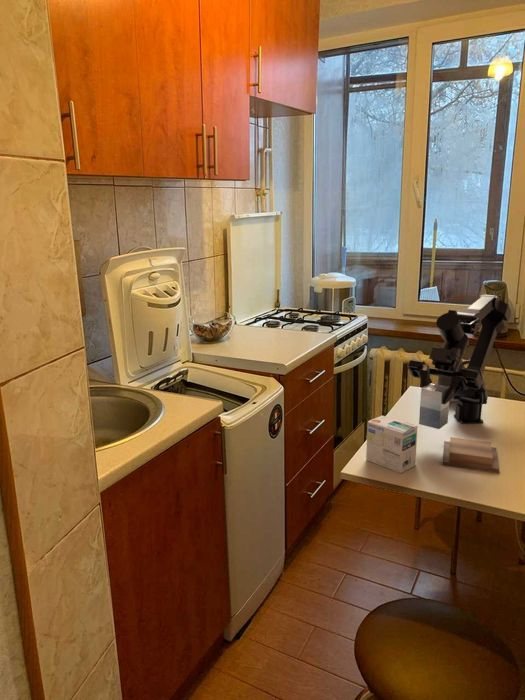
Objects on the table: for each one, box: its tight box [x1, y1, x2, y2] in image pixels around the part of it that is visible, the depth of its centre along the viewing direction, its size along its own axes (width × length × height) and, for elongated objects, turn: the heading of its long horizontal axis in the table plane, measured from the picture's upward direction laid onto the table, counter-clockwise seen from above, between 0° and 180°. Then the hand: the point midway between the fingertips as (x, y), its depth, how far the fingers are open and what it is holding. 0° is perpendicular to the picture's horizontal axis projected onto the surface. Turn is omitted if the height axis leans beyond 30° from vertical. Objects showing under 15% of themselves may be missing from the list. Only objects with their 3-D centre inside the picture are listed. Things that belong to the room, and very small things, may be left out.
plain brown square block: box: [418, 382, 450, 430], centre depth 142 cm, size 6×6×10 cm
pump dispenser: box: [435, 359, 470, 403], centre depth 179 cm, size 10×10×15 cm
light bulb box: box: [365, 415, 418, 474], centre depth 135 cm, size 11×7×11 cm, turn 43°
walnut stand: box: [441, 437, 500, 474], centre depth 138 cm, size 13×13×3 cm
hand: (432, 401), depth 140 cm, fingers closed on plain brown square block, 5 cm apart
